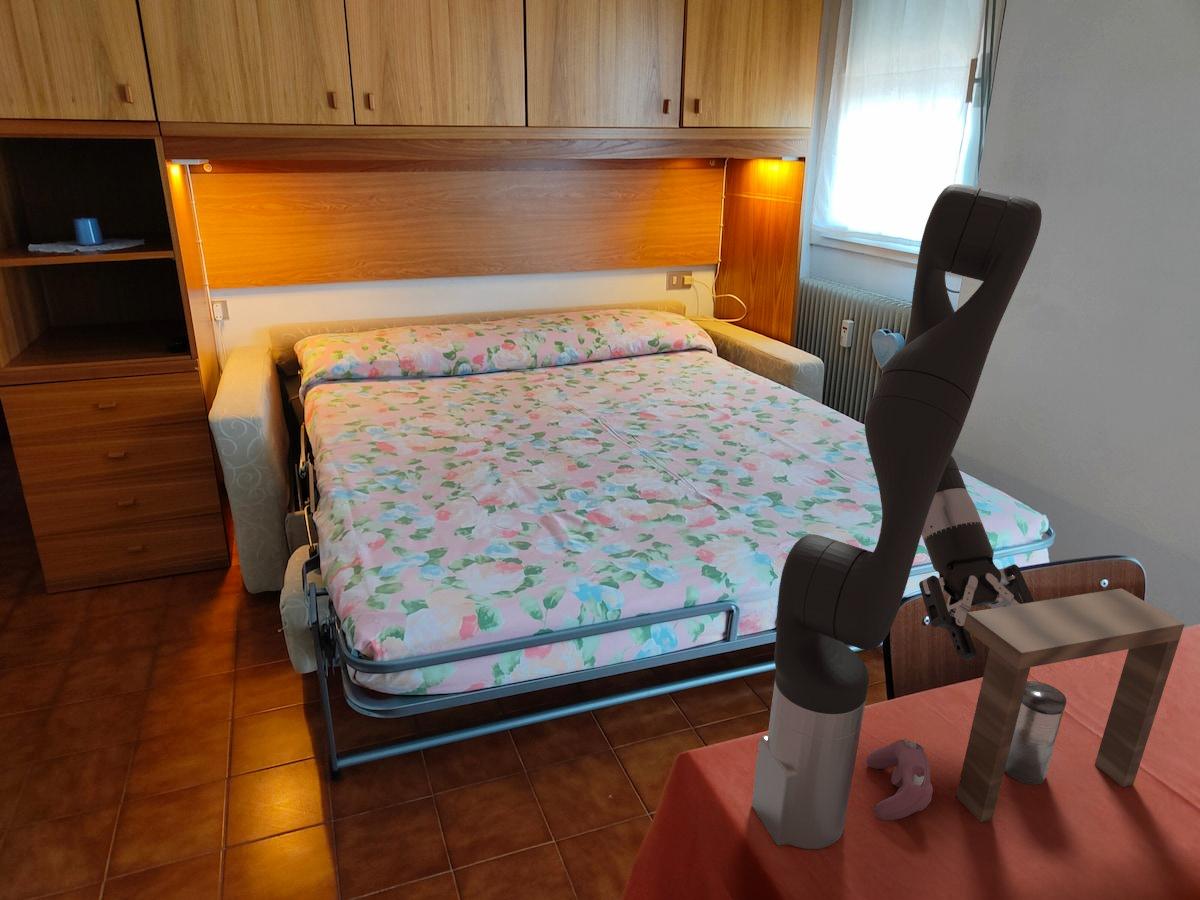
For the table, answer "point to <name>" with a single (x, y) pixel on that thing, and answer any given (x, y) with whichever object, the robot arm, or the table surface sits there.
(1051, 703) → the salt shaker
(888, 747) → the video game controller
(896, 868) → the table surface
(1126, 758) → the walnut shelf
